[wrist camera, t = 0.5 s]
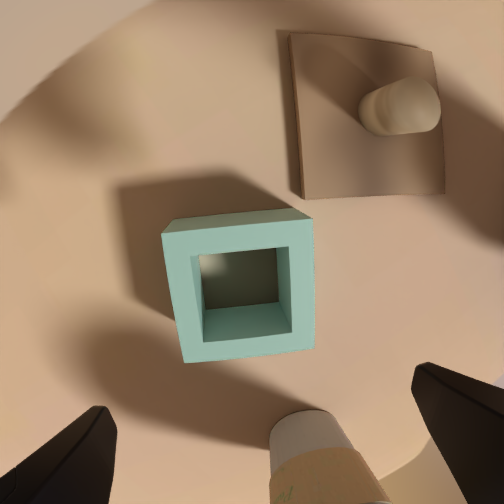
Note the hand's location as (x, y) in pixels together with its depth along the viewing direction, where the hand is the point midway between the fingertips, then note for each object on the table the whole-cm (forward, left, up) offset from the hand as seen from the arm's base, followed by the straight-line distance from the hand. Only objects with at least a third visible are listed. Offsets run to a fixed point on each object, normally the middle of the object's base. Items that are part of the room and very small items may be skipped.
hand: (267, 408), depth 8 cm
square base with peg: (-9, -9, -12) cm, 17 cm away
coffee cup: (-4, +15, -12) cm, 20 cm away
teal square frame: (0, 0, -12) cm, 12 cm away
